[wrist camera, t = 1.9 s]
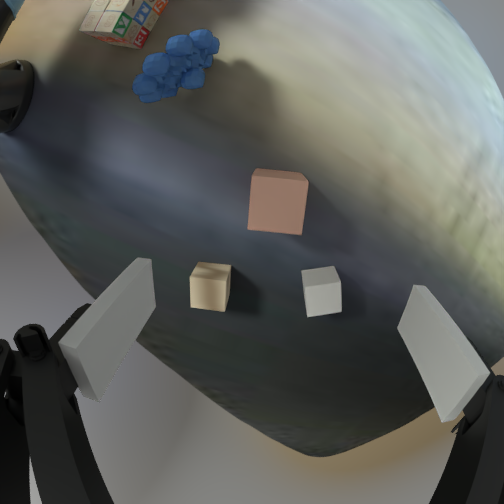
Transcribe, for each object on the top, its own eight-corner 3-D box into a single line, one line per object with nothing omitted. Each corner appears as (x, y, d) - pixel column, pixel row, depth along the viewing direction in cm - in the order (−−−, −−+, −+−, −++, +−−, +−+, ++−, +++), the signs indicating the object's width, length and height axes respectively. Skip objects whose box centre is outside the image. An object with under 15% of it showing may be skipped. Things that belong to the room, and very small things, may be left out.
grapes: (182, 125, 34) (144, 121, 23) (151, 95, 33) (106, 84, 22) (244, 66, 31) (232, 36, 20) (210, 37, 29) (185, 2, 18)
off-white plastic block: (304, 298, 43) (307, 317, 39) (301, 270, 41) (304, 287, 37) (335, 293, 43) (341, 311, 38) (333, 265, 41) (340, 281, 36)
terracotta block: (252, 211, 38) (247, 229, 31) (256, 168, 36) (251, 175, 29) (295, 215, 38) (301, 234, 31) (301, 172, 36) (308, 181, 28)
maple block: (198, 289, 44) (190, 307, 39) (198, 261, 42) (189, 276, 37) (229, 293, 44) (224, 311, 39) (231, 265, 42) (226, 281, 37)
